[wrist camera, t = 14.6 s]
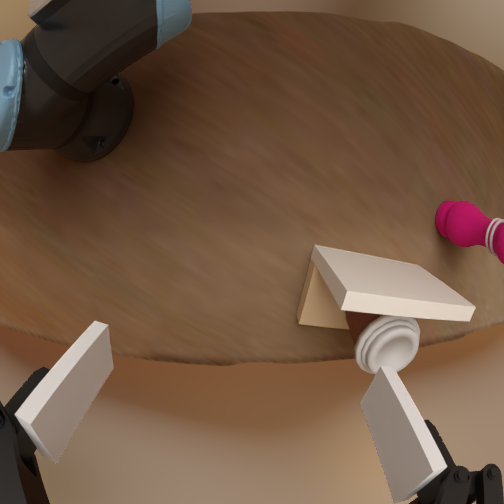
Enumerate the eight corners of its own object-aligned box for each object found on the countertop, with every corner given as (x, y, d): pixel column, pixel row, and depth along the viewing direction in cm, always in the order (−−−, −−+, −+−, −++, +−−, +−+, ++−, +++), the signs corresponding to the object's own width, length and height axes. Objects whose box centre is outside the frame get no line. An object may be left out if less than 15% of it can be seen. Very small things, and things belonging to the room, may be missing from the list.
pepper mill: (460, 237, 39) (539, 277, 19) (431, 240, 39) (514, 285, 20) (462, 197, 36) (548, 221, 17) (433, 197, 37) (524, 222, 18)
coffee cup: (357, 342, 41) (381, 392, 29) (323, 310, 39) (344, 361, 28) (399, 305, 39) (436, 346, 27) (369, 268, 37) (407, 306, 26)
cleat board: (314, 244, 39) (347, 290, 24) (417, 264, 40) (475, 307, 25) (296, 314, 43) (313, 383, 27) (395, 324, 43) (438, 380, 28)
